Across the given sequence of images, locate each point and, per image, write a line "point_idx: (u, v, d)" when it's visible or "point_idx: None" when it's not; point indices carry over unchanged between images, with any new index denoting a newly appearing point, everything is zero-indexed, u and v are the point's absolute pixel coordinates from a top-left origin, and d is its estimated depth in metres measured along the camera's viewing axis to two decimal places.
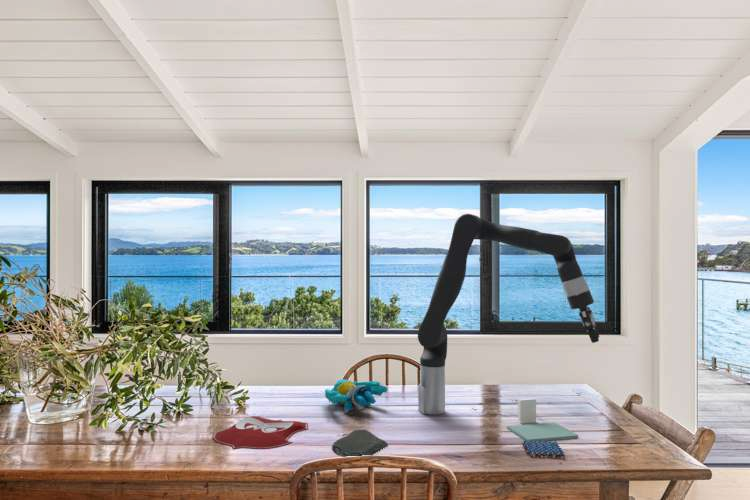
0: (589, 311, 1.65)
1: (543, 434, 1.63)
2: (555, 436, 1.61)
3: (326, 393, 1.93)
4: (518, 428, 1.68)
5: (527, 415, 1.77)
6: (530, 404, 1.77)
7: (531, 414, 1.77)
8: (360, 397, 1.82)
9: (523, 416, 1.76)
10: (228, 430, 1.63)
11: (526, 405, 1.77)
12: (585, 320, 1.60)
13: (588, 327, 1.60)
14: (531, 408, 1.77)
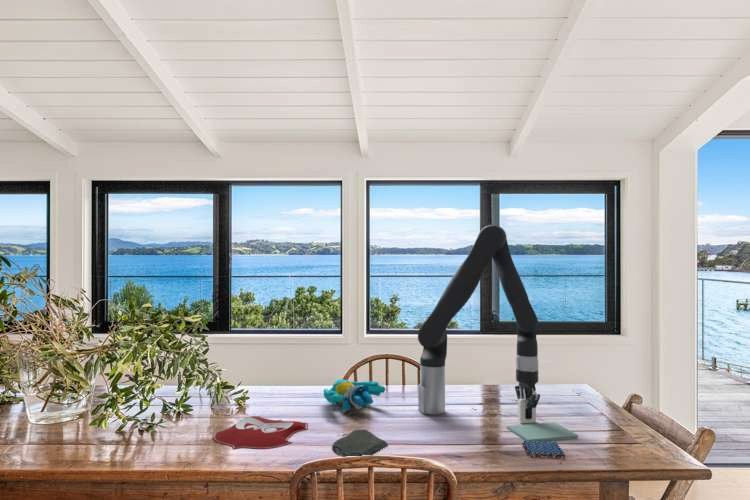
0: None
1: (543, 434, 1.63)
2: (555, 436, 1.61)
3: (324, 393, 1.94)
4: (518, 428, 1.68)
5: None
6: None
7: None
8: (357, 397, 1.82)
9: (523, 416, 1.76)
10: (228, 430, 1.63)
11: None
12: (534, 402, 1.73)
13: (532, 406, 1.74)
14: None
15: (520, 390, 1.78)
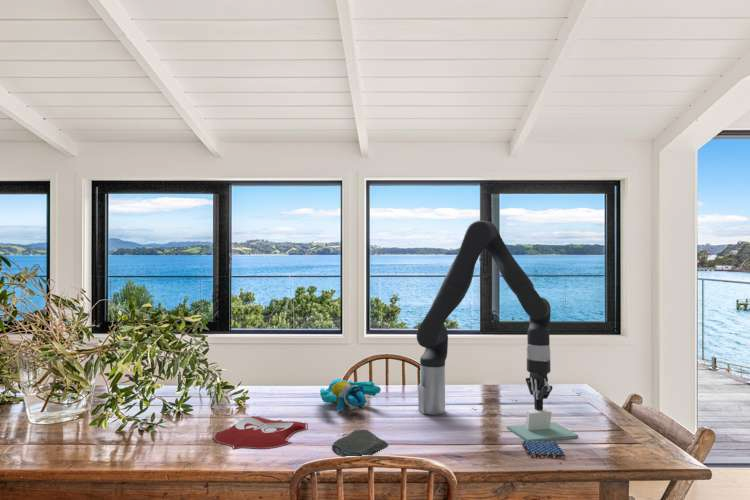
0: None
1: (543, 434, 1.63)
2: (555, 436, 1.61)
3: None
4: (518, 428, 1.68)
5: (543, 421, 1.67)
6: (533, 419, 1.66)
7: (543, 417, 1.67)
8: (351, 397, 1.82)
9: (543, 426, 1.68)
10: (228, 430, 1.63)
11: (533, 423, 1.67)
12: (545, 393, 1.65)
13: (543, 396, 1.66)
14: (537, 417, 1.67)
15: (531, 381, 1.70)
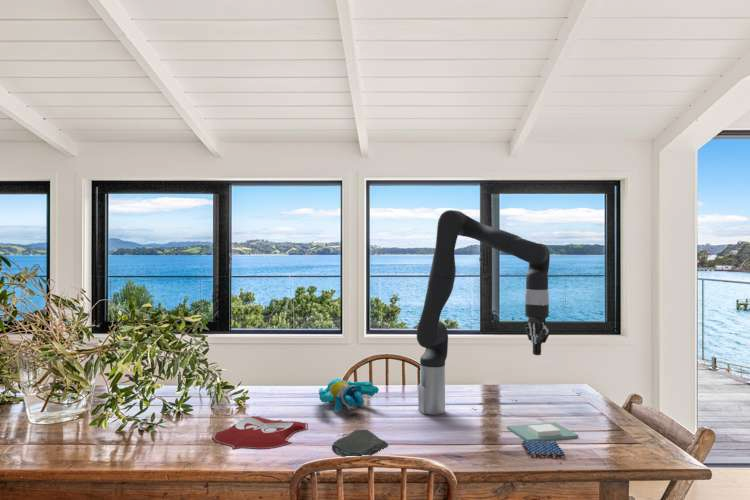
0: None
1: None
2: (555, 436, 1.61)
3: None
4: (518, 428, 1.68)
5: None
6: None
7: None
8: (348, 397, 1.82)
9: None
10: (228, 430, 1.63)
11: None
12: (543, 337, 1.65)
13: (541, 340, 1.67)
14: None
15: (530, 326, 1.70)
